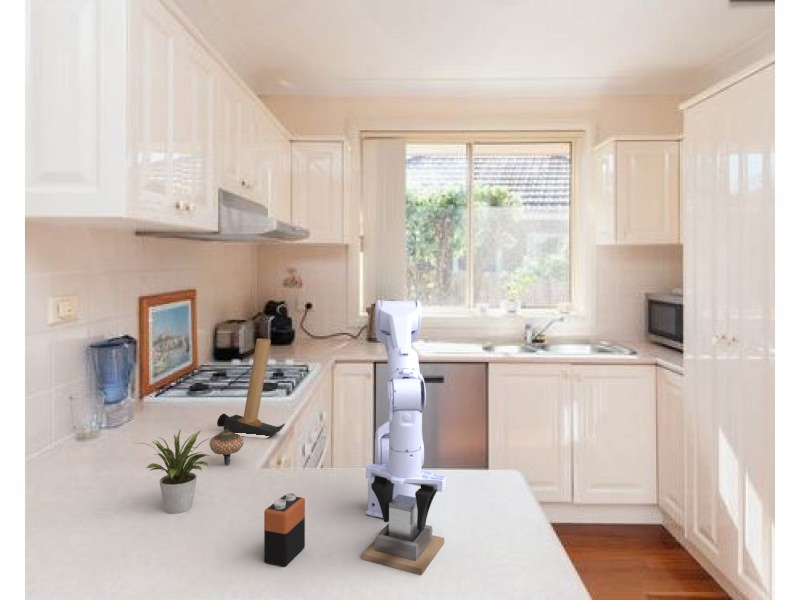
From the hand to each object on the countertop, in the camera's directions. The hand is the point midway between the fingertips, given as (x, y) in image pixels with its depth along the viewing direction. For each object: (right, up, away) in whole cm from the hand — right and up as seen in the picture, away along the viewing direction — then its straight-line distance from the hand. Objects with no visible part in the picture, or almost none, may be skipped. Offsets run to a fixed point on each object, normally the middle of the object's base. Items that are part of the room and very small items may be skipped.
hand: (404, 523), depth 89 cm
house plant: (-47, -4, +15) cm, 50 cm away
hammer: (-46, -2, +66) cm, 81 cm away
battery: (-21, -5, -2) cm, 21 cm away
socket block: (0, -5, 0) cm, 5 cm away
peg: (0, -4, 0) cm, 4 cm away
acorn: (-45, -3, +40) cm, 60 cm away
